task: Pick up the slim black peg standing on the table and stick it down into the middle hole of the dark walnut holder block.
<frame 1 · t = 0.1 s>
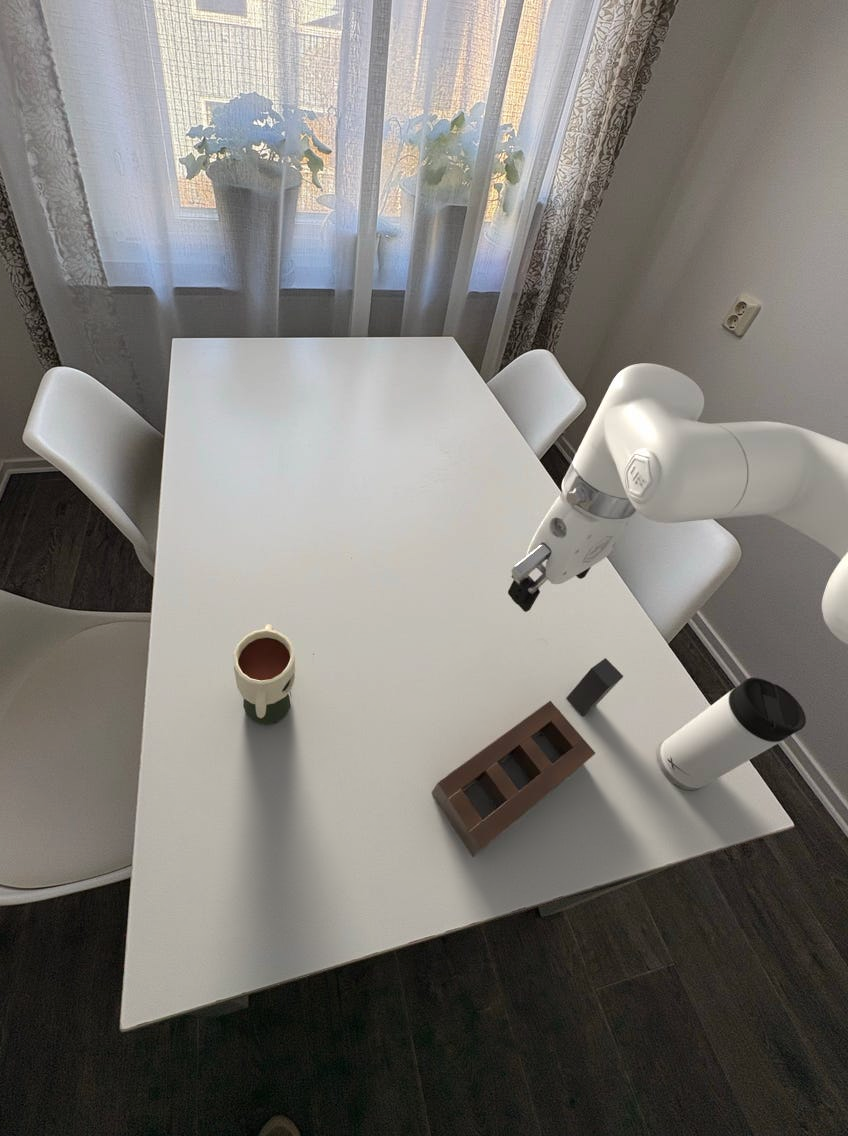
hand: (546, 585, 65), 19 cm above the table, tool pointing down, fingers open, 9 cm apart
peg: (580, 701, 75), on the table
holder: (509, 778, 67), on the table
travel mug: (679, 766, 70), on the table
character mug: (267, 703, 71), on the table
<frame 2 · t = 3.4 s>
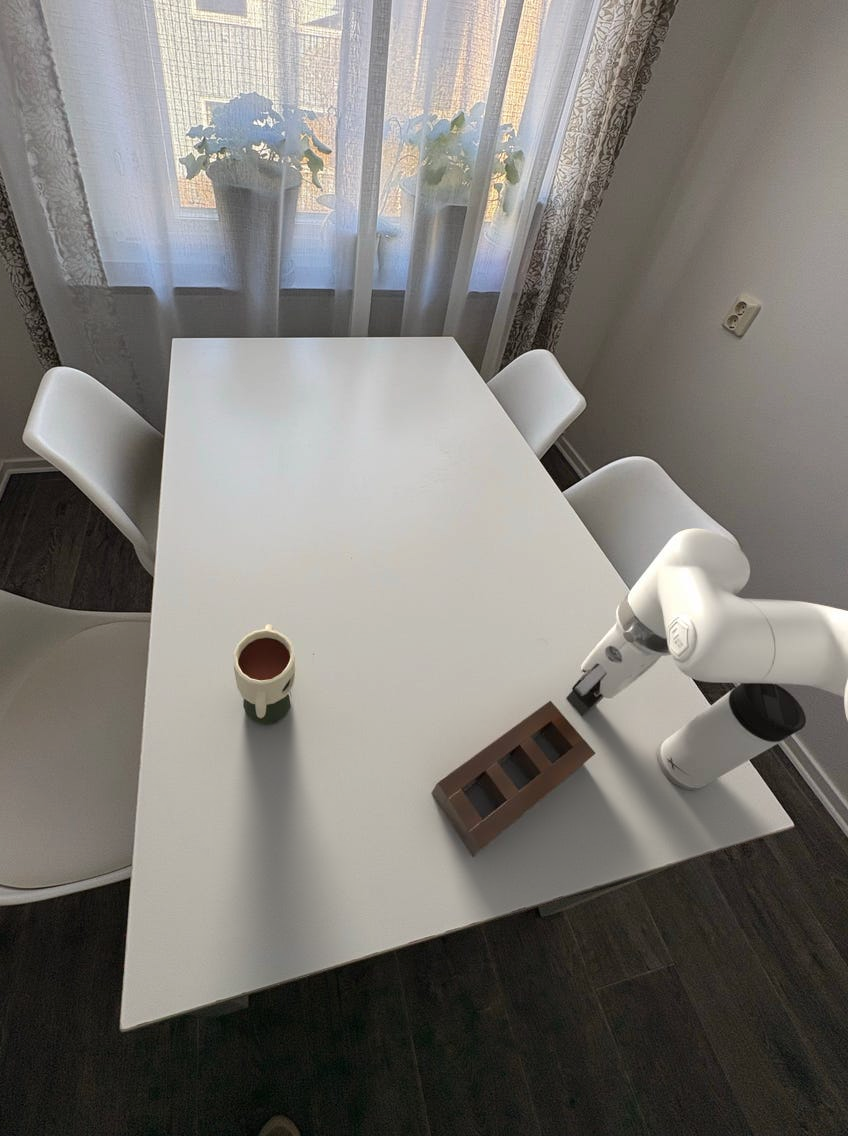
hand: (591, 690, 73), 4 cm above the table, tool pointing down, fingers closed on peg, 3 cm apart
peg: (580, 701, 75), on the table, touching gripper
everything else where it was.
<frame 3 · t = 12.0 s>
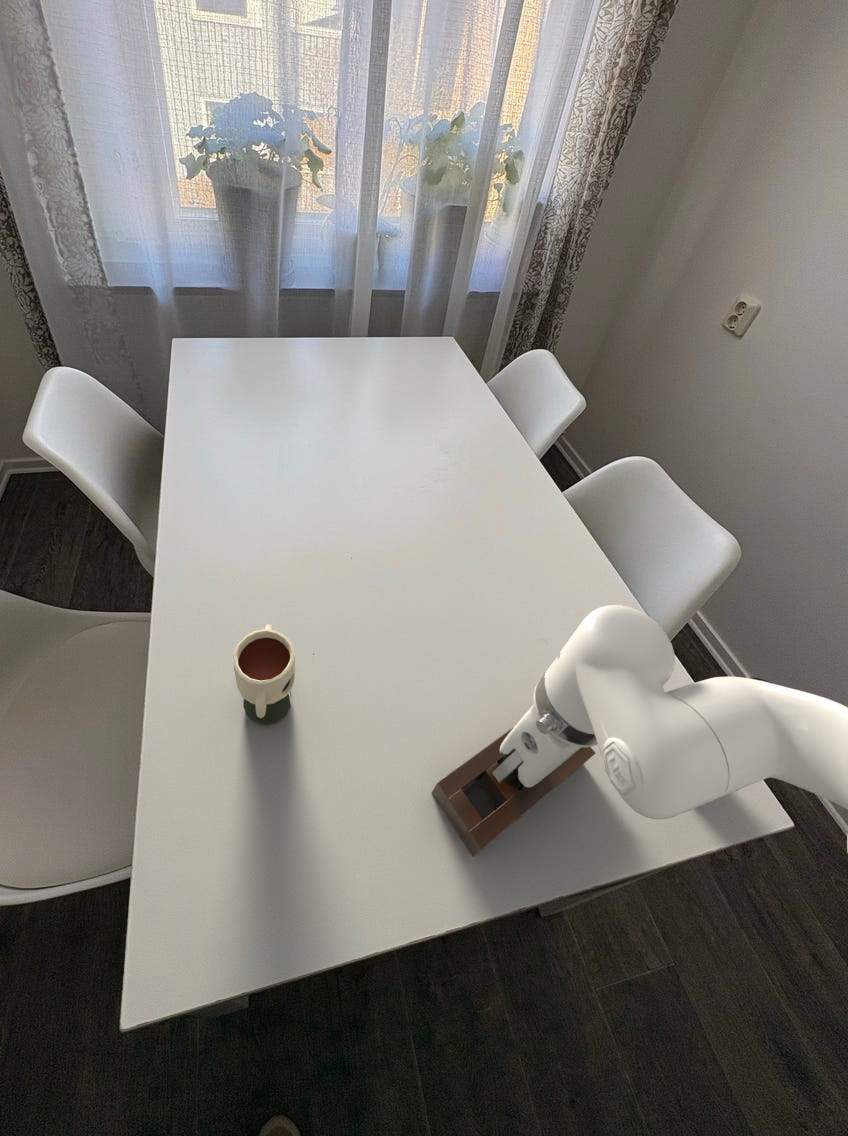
hand: (519, 765, 64), 4 cm above the table, tool pointing down, fingers closed on peg, 3 cm apart
peg: (510, 775, 67), point 1 cm above the table, touching gripper
everything else where it was.
when the fingers open (5 cm above the table, at t = 14.3 s): peg drops 1 cm, resting in holder.
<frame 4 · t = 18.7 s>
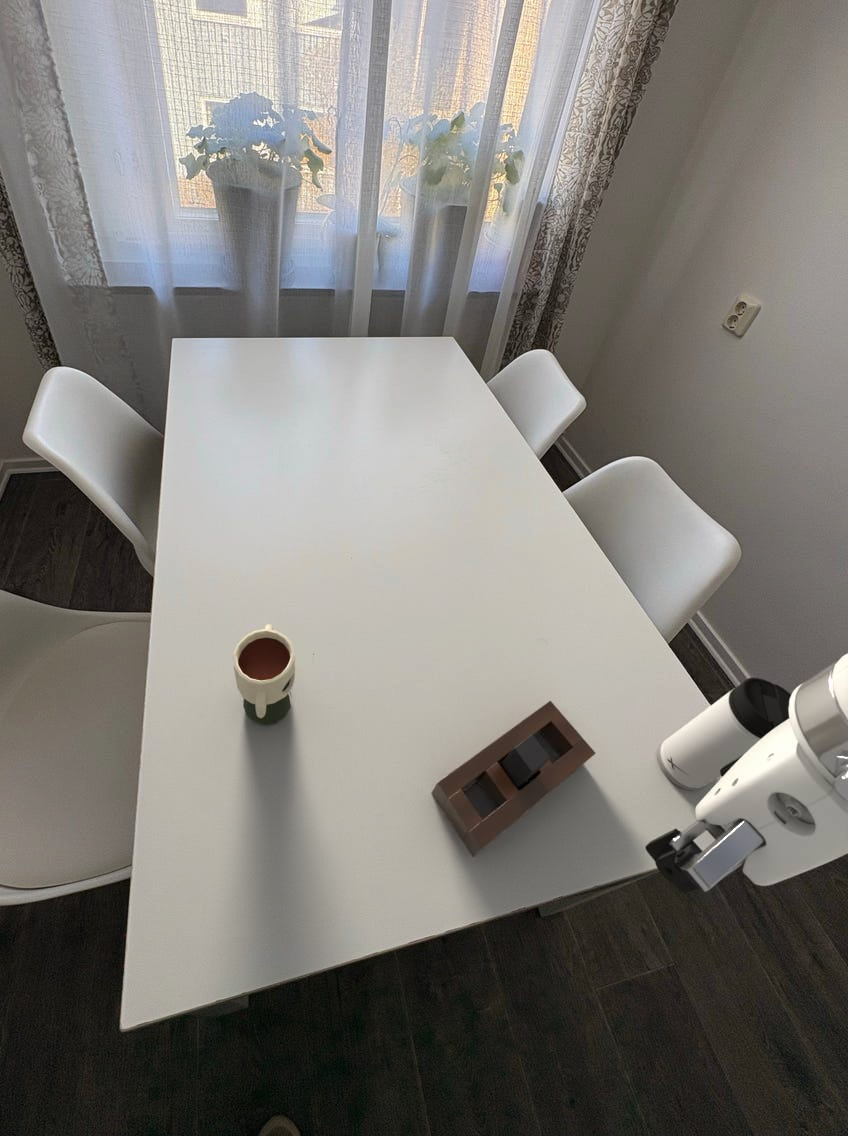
hand: (703, 825, 39), 28 cm above the table, tool pointing down, fingers open, 9 cm apart
peg: (509, 778, 67), resting in holder
everything else where it was.
at the end: peg 0.1 cm off-centre in the holder, point 0.0 cm above the holder's base; peg tilted 0°; the gripper is holding nothing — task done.
